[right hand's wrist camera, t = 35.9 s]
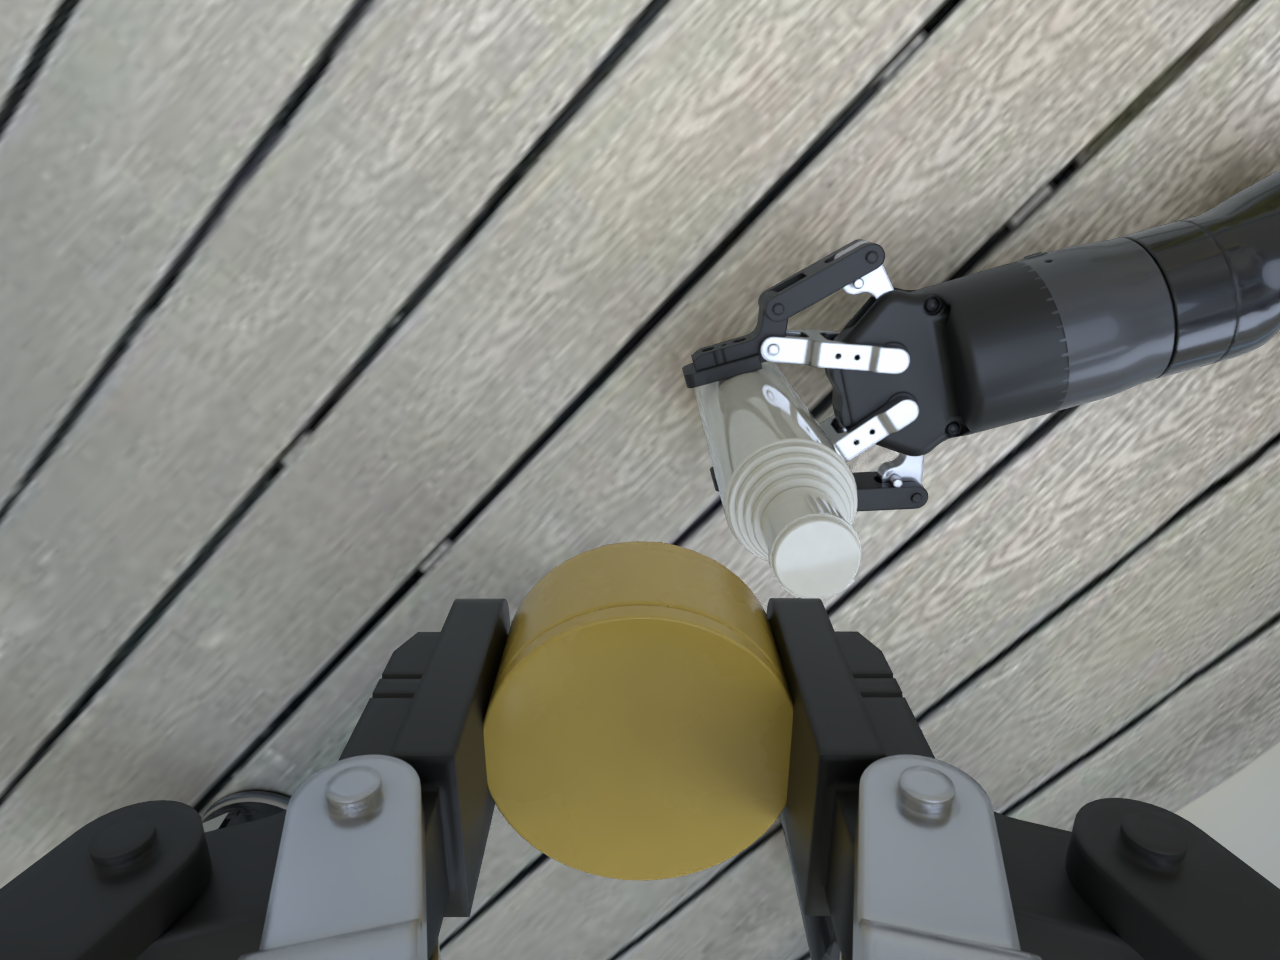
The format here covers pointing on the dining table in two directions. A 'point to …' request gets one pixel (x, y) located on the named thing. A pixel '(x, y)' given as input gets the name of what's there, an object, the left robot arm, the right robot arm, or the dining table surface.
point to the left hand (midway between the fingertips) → (700, 429)
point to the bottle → (782, 482)
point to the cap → (639, 715)
